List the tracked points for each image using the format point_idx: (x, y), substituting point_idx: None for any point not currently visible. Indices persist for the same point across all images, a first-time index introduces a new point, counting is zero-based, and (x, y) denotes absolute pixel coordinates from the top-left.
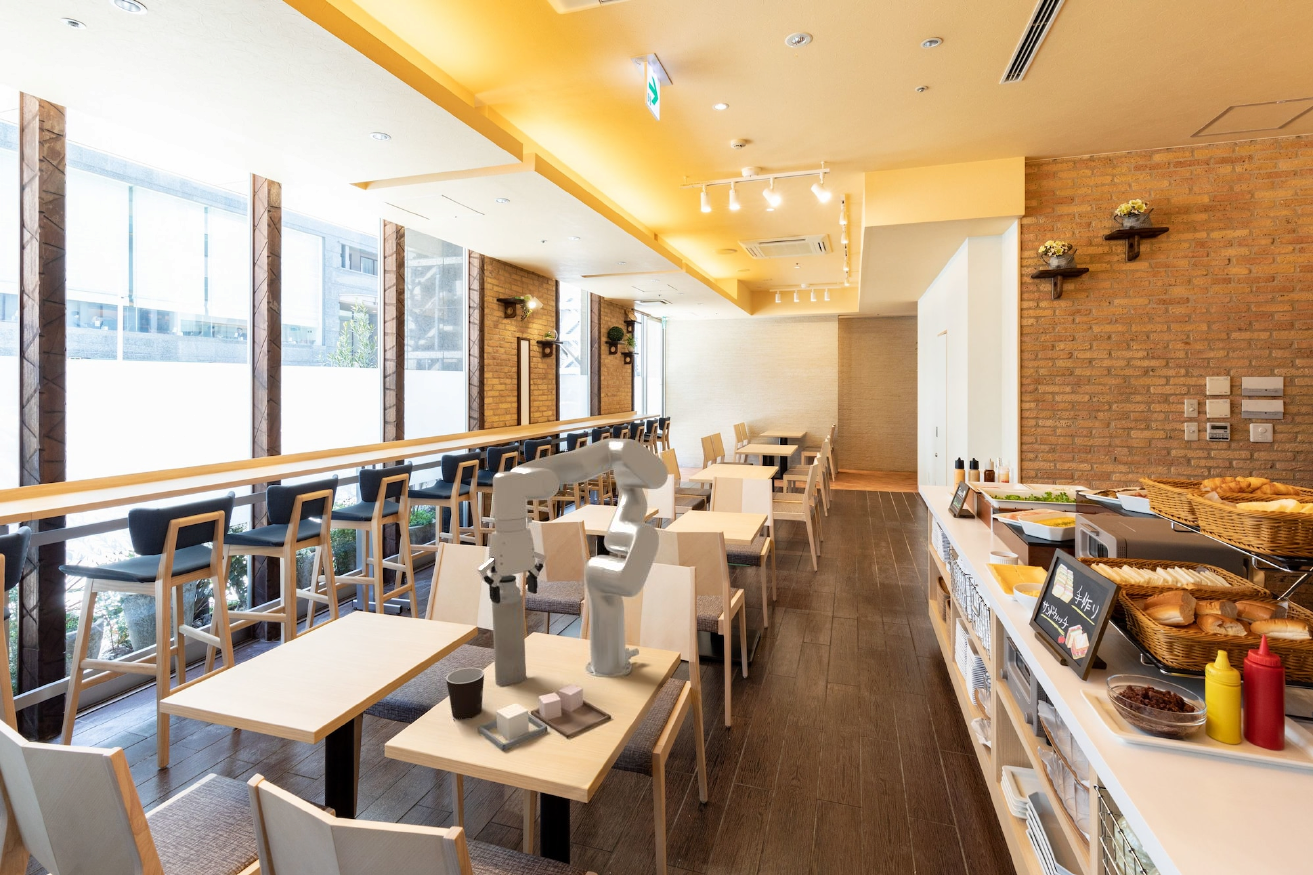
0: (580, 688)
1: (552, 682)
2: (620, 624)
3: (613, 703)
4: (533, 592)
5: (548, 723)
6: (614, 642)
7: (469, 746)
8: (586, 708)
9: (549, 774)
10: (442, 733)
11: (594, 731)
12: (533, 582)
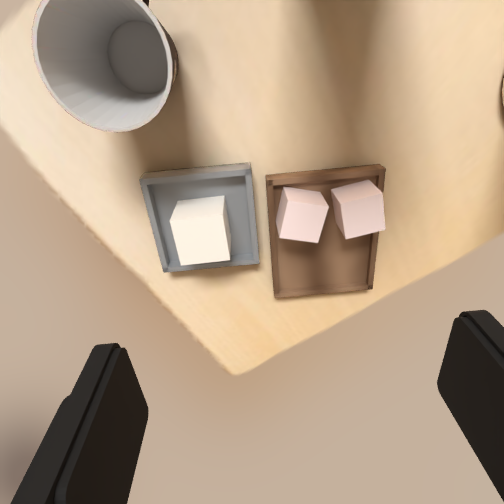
0: (382, 226)
1: (417, 20)
2: None
3: (425, 228)
4: (442, 384)
5: (271, 245)
6: None
7: (119, 198)
8: None
9: (210, 336)
10: None
11: None
12: (493, 476)
